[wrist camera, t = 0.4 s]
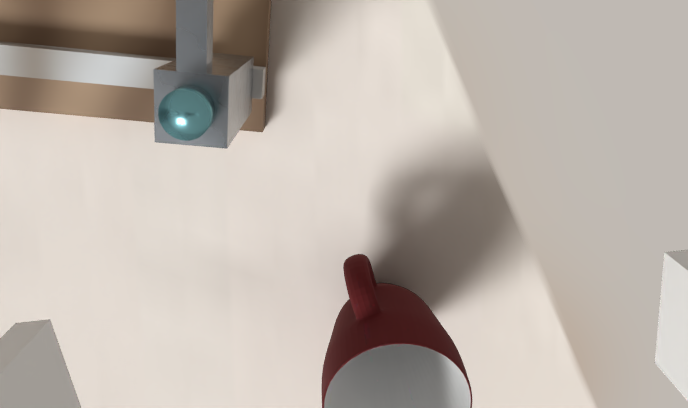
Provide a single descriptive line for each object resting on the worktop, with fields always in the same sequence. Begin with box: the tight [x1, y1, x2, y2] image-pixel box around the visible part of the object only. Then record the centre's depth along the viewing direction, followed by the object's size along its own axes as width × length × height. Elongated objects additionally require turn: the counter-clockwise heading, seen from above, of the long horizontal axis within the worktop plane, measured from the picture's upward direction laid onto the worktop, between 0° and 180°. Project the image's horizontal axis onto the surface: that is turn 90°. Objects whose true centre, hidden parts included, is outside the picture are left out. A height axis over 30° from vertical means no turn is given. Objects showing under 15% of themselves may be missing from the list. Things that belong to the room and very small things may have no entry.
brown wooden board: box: [0, 0, 271, 132], centre depth 30 cm, size 26×12×3 cm, turn 84°
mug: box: [322, 254, 472, 408], centre depth 34 cm, size 11×8×10 cm
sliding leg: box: [153, 0, 254, 148], centre depth 25 cm, size 3×8×9 cm, turn 174°
